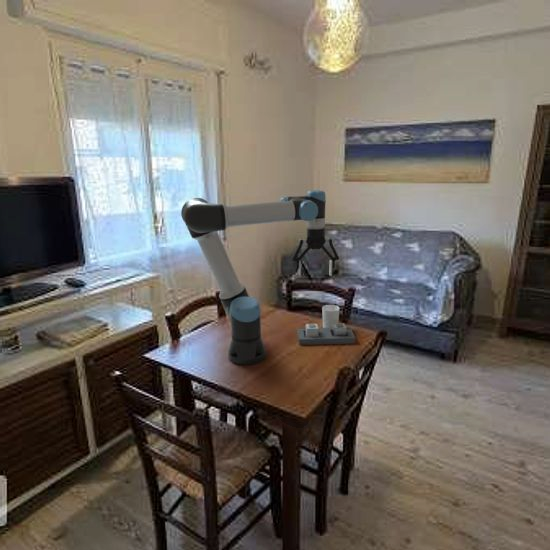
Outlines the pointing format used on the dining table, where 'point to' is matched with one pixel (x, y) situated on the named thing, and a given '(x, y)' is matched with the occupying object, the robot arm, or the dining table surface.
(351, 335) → the grey socket block
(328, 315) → the white cup
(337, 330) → the block
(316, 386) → the dining table surface
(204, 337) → the dining table surface
